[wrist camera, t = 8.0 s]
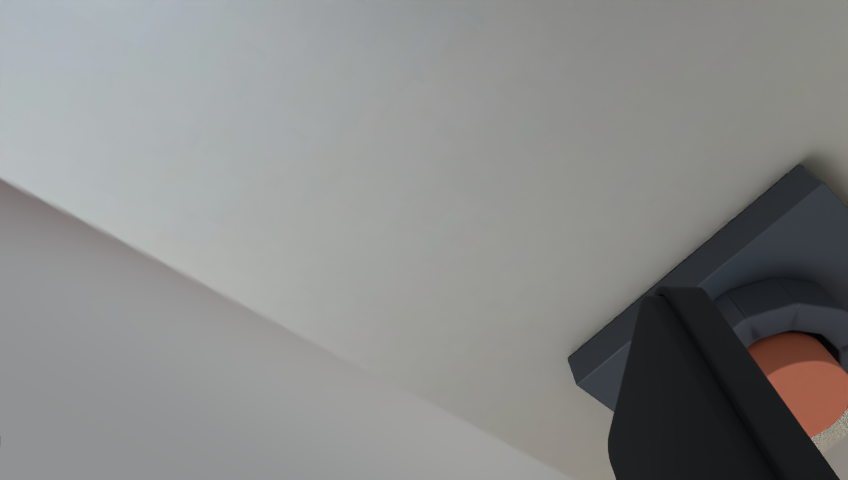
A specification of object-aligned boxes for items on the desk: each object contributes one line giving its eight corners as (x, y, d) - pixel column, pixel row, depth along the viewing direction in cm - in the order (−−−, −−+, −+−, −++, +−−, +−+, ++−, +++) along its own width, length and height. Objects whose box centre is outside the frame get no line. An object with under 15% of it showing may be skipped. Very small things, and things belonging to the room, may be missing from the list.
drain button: (763, 426, 29) (783, 458, 27) (702, 378, 28) (721, 410, 26) (847, 366, 28) (874, 397, 26) (789, 313, 26) (814, 342, 25)
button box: (694, 452, 34) (725, 513, 31) (566, 359, 31) (586, 415, 28) (920, 290, 30) (980, 342, 27) (799, 163, 27) (852, 205, 24)
